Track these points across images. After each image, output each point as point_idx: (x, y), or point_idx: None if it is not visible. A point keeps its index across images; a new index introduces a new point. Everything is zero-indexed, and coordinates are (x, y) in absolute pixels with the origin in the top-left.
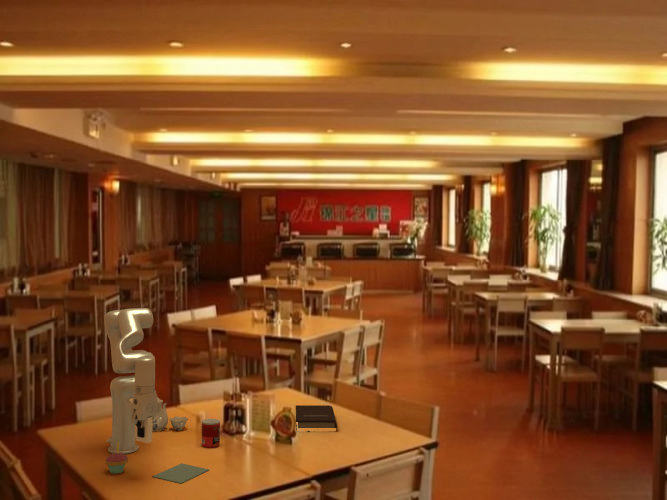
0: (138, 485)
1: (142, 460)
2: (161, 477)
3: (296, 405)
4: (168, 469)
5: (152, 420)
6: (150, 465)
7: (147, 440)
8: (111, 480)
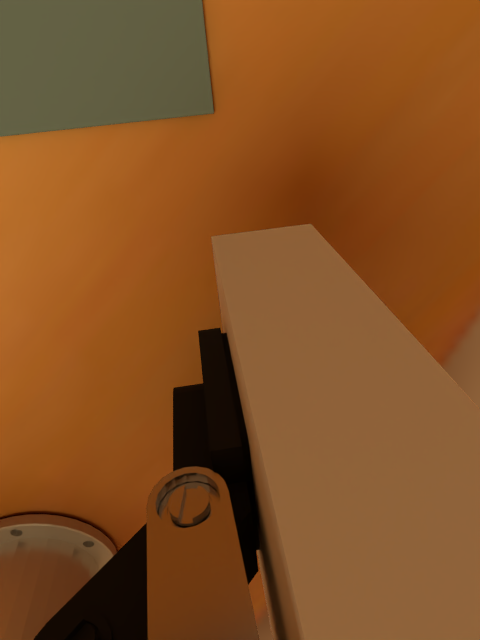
0: (395, 59)
1: (58, 403)
2: (190, 18)
3: None
4: (29, 126)
5: (87, 582)
6: (72, 308)
7: (318, 237)
8: (397, 280)
